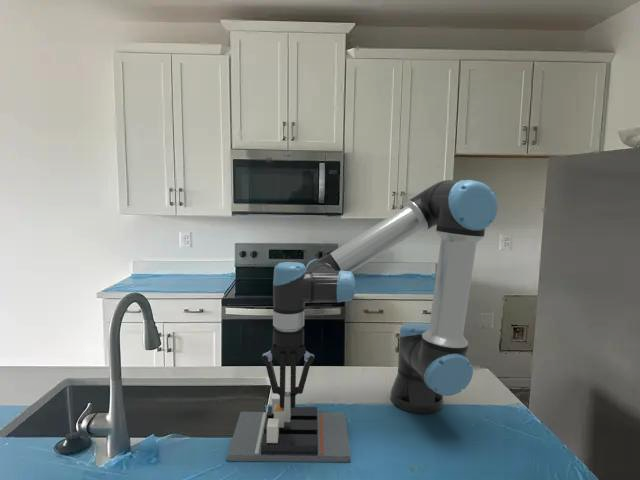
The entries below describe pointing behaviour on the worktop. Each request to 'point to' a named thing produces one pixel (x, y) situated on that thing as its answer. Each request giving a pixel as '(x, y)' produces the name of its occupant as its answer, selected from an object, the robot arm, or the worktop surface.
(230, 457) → the panel
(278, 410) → the handle
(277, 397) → the handle
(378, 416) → the worktop surface
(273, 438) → the handle
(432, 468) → the worktop surface
